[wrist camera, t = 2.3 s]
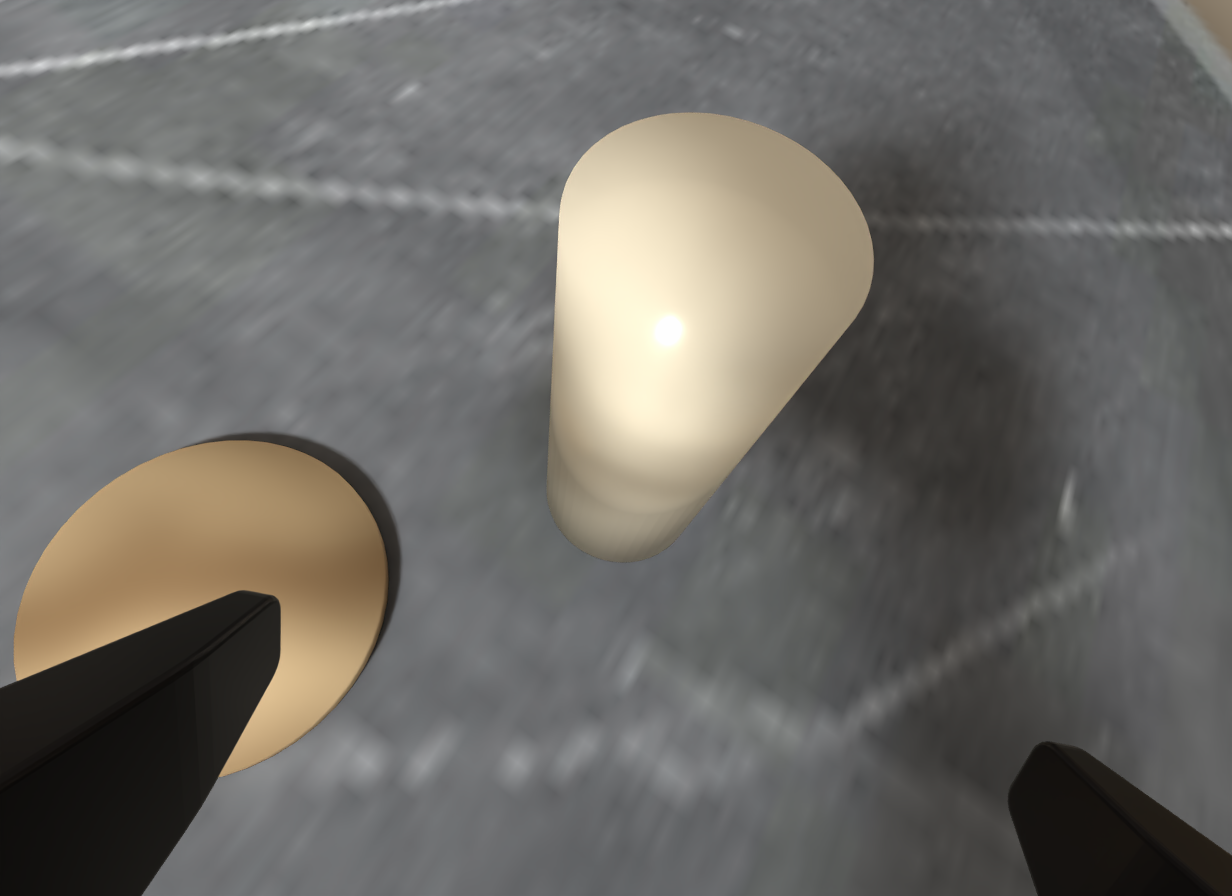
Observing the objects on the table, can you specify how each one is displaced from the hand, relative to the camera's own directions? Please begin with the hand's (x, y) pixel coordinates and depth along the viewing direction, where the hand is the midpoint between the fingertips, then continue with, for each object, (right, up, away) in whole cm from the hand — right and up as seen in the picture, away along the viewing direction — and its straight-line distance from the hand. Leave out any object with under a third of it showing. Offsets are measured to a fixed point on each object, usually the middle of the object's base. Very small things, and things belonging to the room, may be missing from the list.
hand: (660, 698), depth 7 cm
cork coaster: (-13, -2, +12) cm, 17 cm away
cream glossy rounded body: (0, +1, +15) cm, 15 cm away
